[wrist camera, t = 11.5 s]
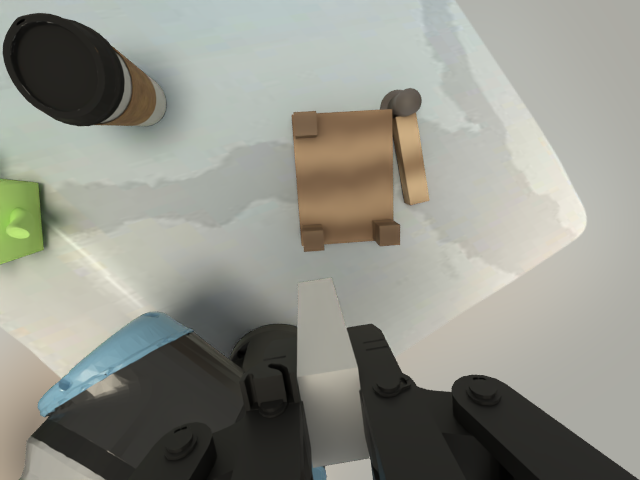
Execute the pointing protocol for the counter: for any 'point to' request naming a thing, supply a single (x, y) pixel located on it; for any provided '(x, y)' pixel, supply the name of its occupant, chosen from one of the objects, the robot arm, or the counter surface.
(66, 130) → the counter surface
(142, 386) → the robot arm
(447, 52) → the counter surface
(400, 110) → the hinged leg
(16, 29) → the coffee cup
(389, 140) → the stool top
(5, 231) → the teapot
